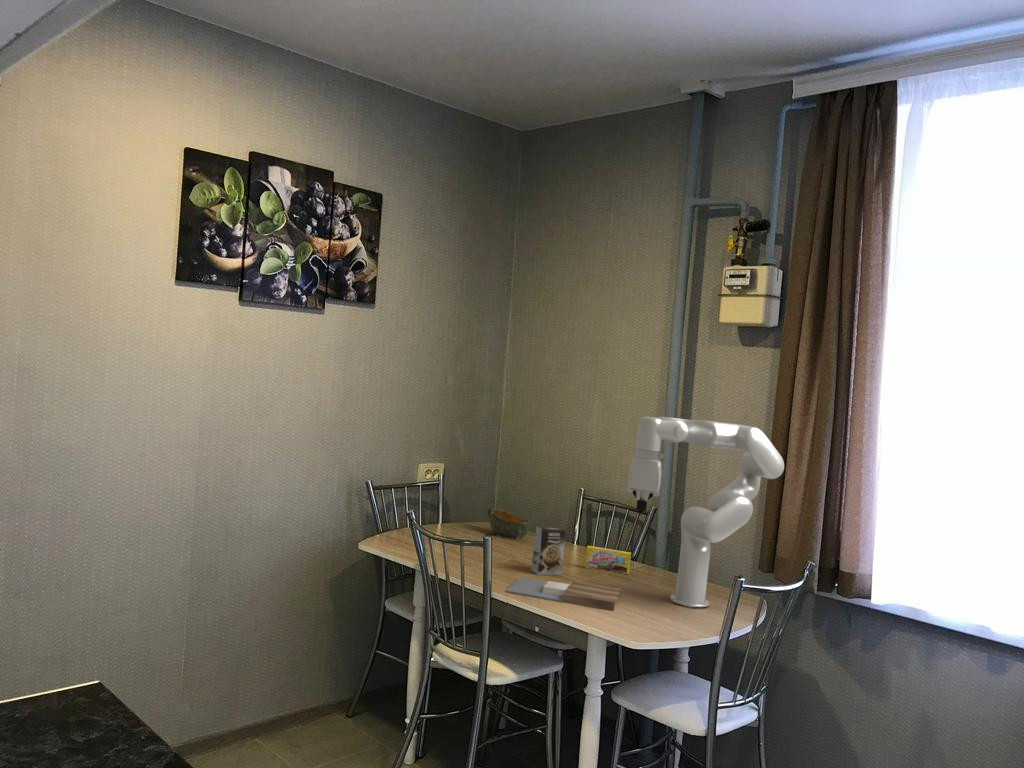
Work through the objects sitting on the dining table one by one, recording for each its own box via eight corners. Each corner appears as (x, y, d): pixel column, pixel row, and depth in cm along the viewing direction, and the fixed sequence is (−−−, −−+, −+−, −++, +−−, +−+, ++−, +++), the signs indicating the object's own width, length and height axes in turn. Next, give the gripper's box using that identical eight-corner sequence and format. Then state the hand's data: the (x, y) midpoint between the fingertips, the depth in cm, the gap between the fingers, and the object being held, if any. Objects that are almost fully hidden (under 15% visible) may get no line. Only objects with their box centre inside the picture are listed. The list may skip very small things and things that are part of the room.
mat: (520, 579, 281) (520, 577, 281) (572, 588, 277) (572, 586, 277) (506, 592, 263) (506, 590, 263) (561, 602, 258) (562, 600, 258)
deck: (572, 588, 276) (573, 580, 276) (620, 596, 272) (621, 589, 272) (562, 601, 259) (563, 593, 259) (613, 610, 255) (614, 602, 255)
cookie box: (538, 575, 289) (543, 529, 289) (530, 570, 295) (535, 525, 295) (561, 575, 293) (566, 530, 292) (554, 570, 299) (559, 526, 298)
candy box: (584, 568, 308) (586, 546, 307) (585, 567, 310) (587, 545, 309) (628, 575, 304) (630, 553, 304) (628, 574, 306) (631, 552, 306)
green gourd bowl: (510, 530, 363) (513, 507, 363) (530, 542, 345) (533, 517, 344) (483, 530, 358) (486, 507, 357) (502, 542, 339) (504, 517, 339)
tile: (548, 586, 273) (548, 580, 273) (569, 590, 271) (569, 584, 271) (542, 592, 265) (543, 586, 265) (564, 596, 263) (565, 590, 263)
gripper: (671, 457, 268) (665, 514, 268) (625, 451, 271) (619, 507, 272) (670, 459, 260) (663, 517, 261) (622, 453, 264) (616, 510, 264)
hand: (641, 512), depth 266 cm, fingers closed
